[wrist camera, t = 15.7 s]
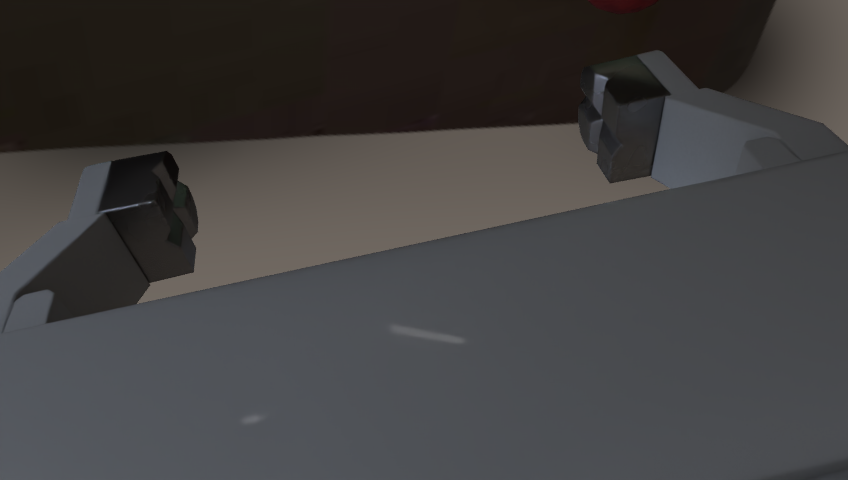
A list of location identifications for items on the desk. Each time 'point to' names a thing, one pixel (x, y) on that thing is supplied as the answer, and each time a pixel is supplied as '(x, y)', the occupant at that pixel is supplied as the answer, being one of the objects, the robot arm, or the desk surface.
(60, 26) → the desk surface
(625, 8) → the onion
